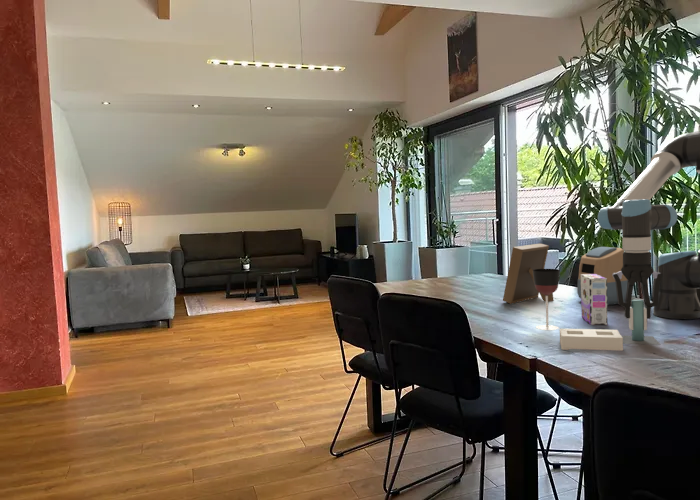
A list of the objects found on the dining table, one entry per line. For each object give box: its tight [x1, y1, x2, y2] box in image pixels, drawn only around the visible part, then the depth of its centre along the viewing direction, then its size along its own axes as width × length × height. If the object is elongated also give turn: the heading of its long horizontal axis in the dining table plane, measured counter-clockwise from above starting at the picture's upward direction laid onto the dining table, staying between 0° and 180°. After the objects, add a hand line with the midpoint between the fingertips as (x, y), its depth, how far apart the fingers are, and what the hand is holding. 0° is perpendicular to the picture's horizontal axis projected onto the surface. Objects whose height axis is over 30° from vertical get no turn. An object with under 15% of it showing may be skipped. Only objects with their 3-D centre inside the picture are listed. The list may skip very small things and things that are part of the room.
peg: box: [631, 299, 645, 341], centre depth 157 cm, size 3×3×12 cm
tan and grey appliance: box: [576, 246, 628, 306], centre depth 221 cm, size 17×17×23 cm
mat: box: [621, 335, 661, 346], centre depth 157 cm, size 10×10×1 cm
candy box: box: [580, 274, 609, 326], centre depth 186 cm, size 14×6×16 cm, turn 168°
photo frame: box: [502, 243, 554, 305], centre depth 231 cm, size 15×22×25 cm
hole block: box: [559, 328, 624, 351], centre depth 154 cm, size 16×10×4 cm, turn 71°
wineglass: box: [533, 268, 560, 331], centre depth 180 cm, size 8×9×20 cm
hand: (637, 328), depth 157 cm, fingers closed on peg, 3 cm apart
